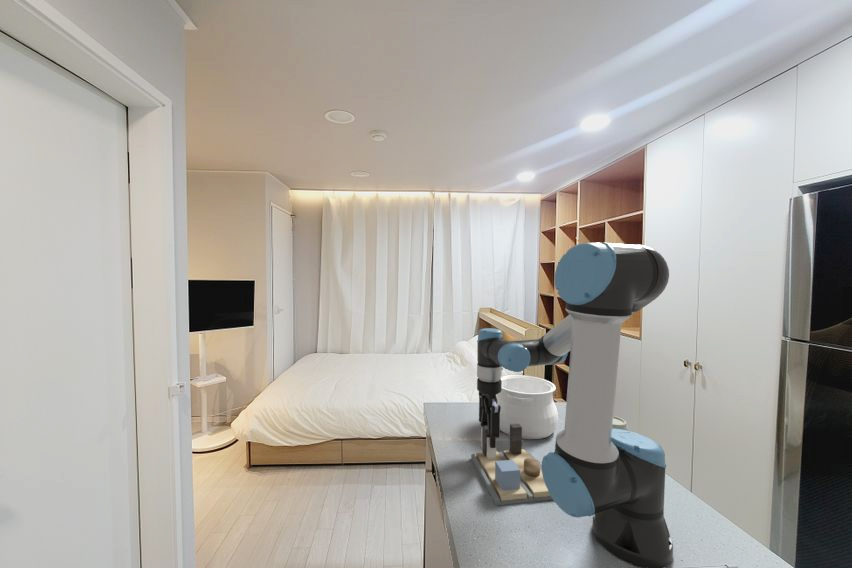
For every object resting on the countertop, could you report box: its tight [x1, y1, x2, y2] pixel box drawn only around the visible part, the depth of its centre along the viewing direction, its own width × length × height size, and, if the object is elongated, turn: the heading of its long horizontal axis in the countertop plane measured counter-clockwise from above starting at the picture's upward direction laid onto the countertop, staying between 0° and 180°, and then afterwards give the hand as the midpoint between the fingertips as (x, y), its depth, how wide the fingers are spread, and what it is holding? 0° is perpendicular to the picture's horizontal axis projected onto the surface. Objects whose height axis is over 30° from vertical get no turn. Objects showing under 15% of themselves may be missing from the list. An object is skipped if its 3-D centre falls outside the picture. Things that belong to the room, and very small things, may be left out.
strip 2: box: [502, 424, 551, 498], centre depth 99 cm, size 21×7×10 cm, turn 9°
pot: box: [496, 374, 559, 440], centre depth 130 cm, size 26×24×17 cm
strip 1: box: [475, 426, 527, 501], centre depth 98 cm, size 21×7×10 cm, turn 9°
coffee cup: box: [612, 415, 629, 431], centre depth 110 cm, size 8×8×12 cm
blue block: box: [495, 460, 520, 490], centre depth 92 cm, size 5×5×5 cm
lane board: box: [470, 449, 554, 506], centre depth 98 cm, size 22×19×2 cm
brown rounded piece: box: [524, 458, 541, 477], centre depth 97 cm, size 4×4×3 cm
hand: (488, 451), depth 107 cm, fingers open, 5 cm apart
